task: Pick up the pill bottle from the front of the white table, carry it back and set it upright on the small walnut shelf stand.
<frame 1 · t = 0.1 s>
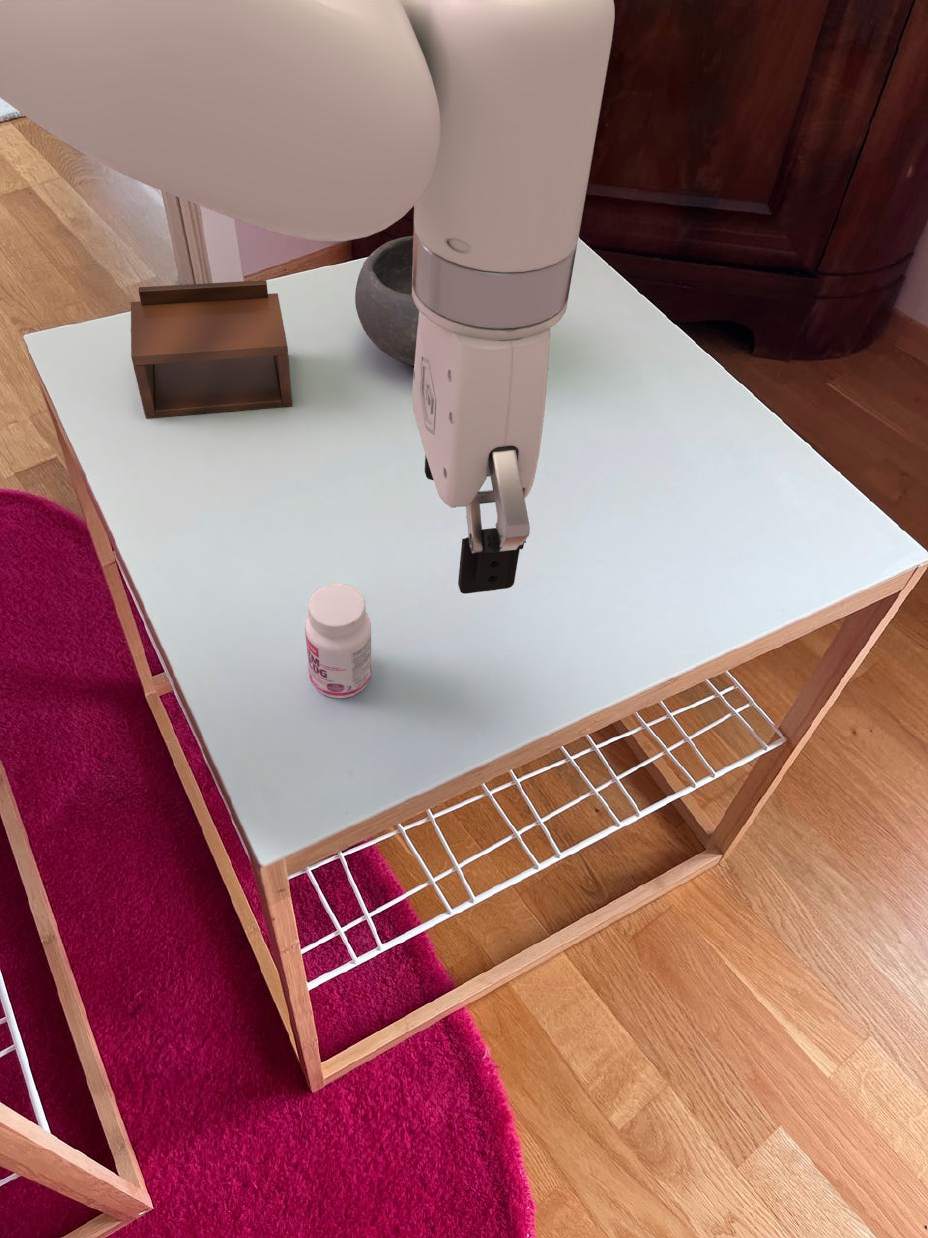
hand: (466, 528, 58), 19 cm above the table, tool pointing down, fingers open, 9 cm apart
pill bottle: (340, 676, 73), on the table
bowl: (426, 352, 101), on the table
shelf: (217, 384, 95), on the table
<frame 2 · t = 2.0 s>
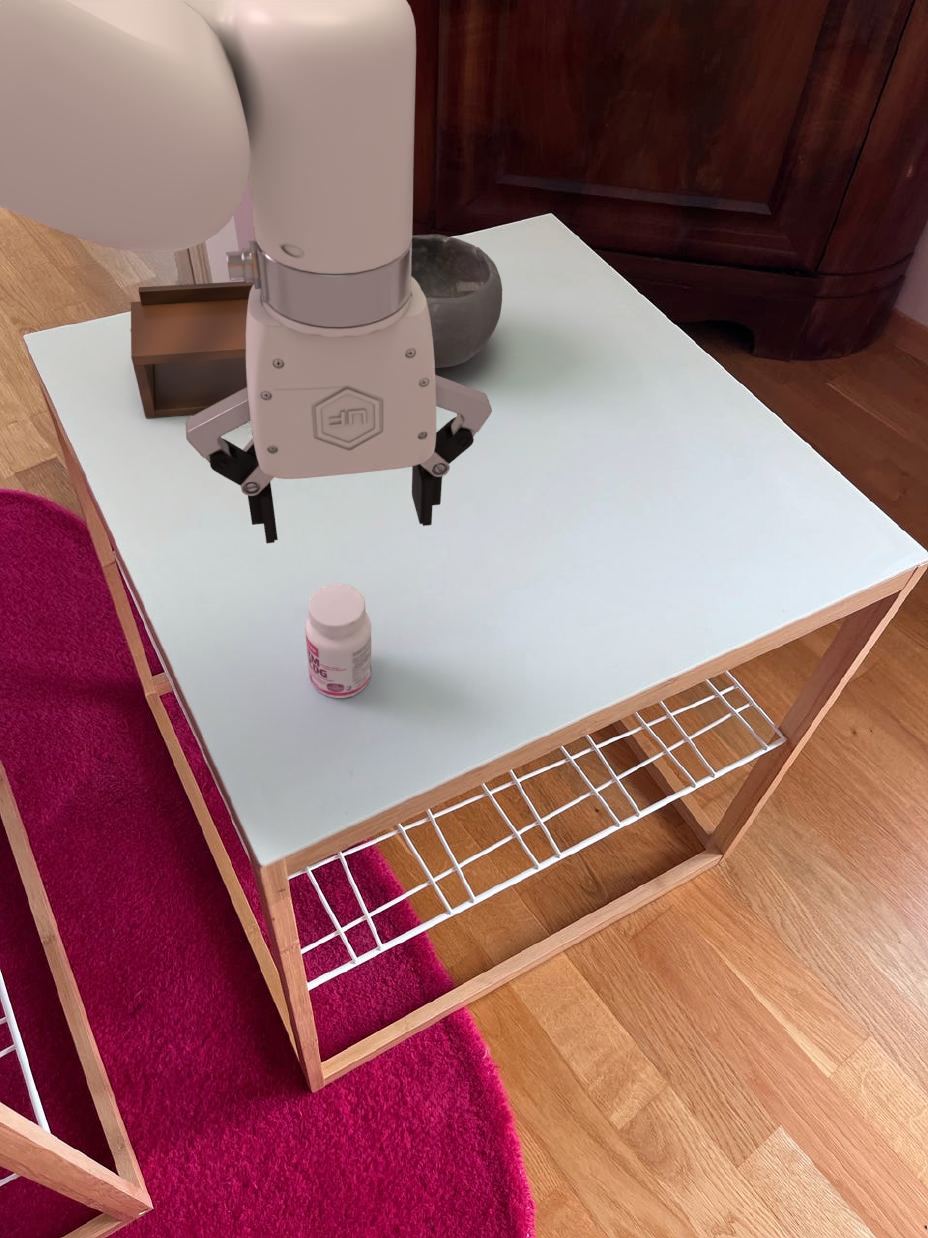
hand: (346, 518, 60), 17 cm above the table, tool pointing down, fingers open, 9 cm apart
nothing on the table moved.
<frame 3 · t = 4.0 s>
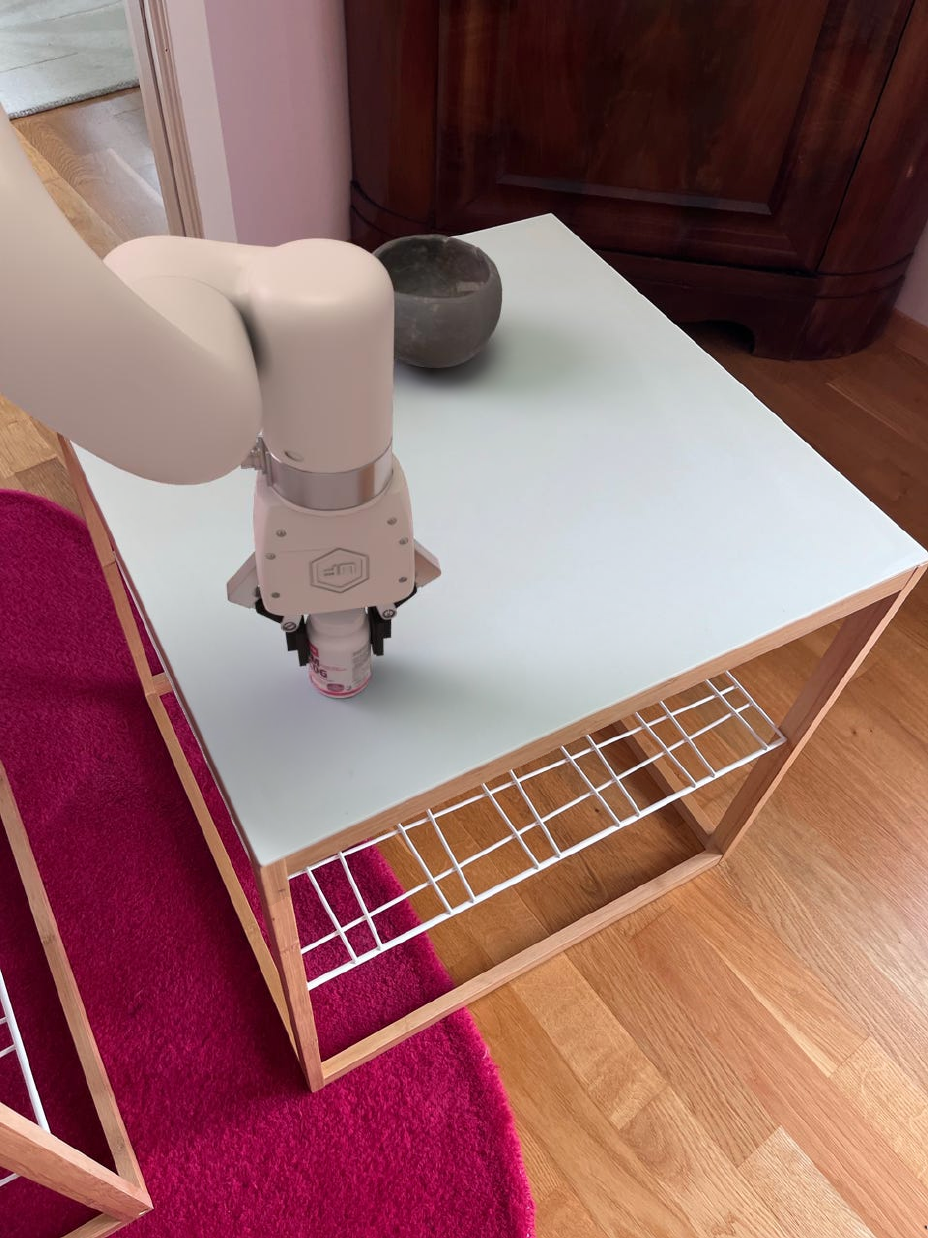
hand: (339, 644, 70), 4 cm above the table, tool pointing down, fingers closed on pill bottle, 4 cm apart
pill bottle: (340, 676, 73), on the table, touching gripper
everything else where it was.
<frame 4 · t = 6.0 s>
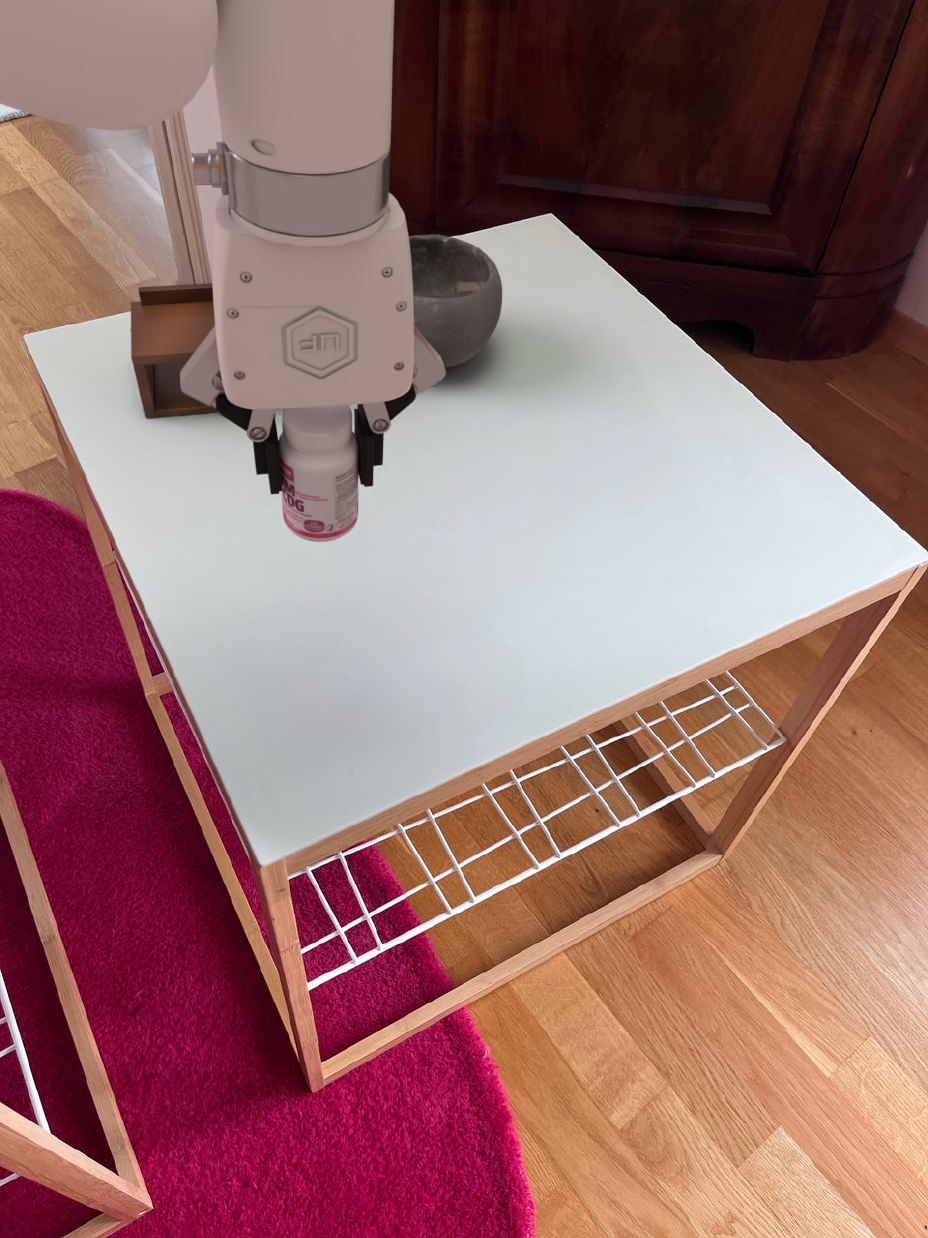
hand: (319, 472, 58), 20 cm above the table, tool pointing down, fingers closed on pill bottle, 4 cm apart
pill bottle: (320, 520, 61), point 16 cm above the table, touching gripper
everything else where it was.
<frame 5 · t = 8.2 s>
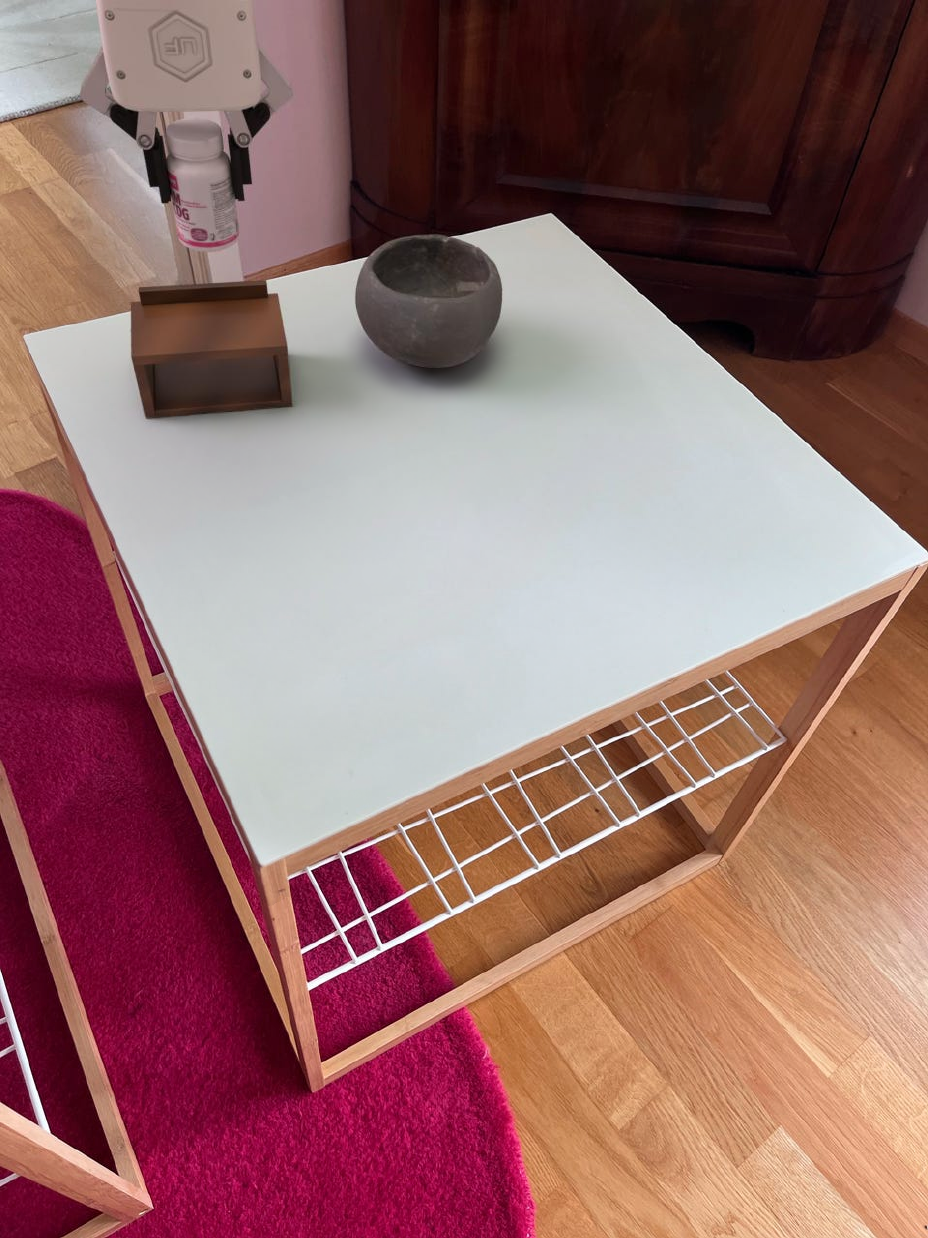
hand: (202, 191, 73), 23 cm above the table, tool pointing down, fingers closed on pill bottle, 4 cm apart
pill bottle: (209, 240, 76), point 19 cm above the table, touching gripper
everything else where it was.
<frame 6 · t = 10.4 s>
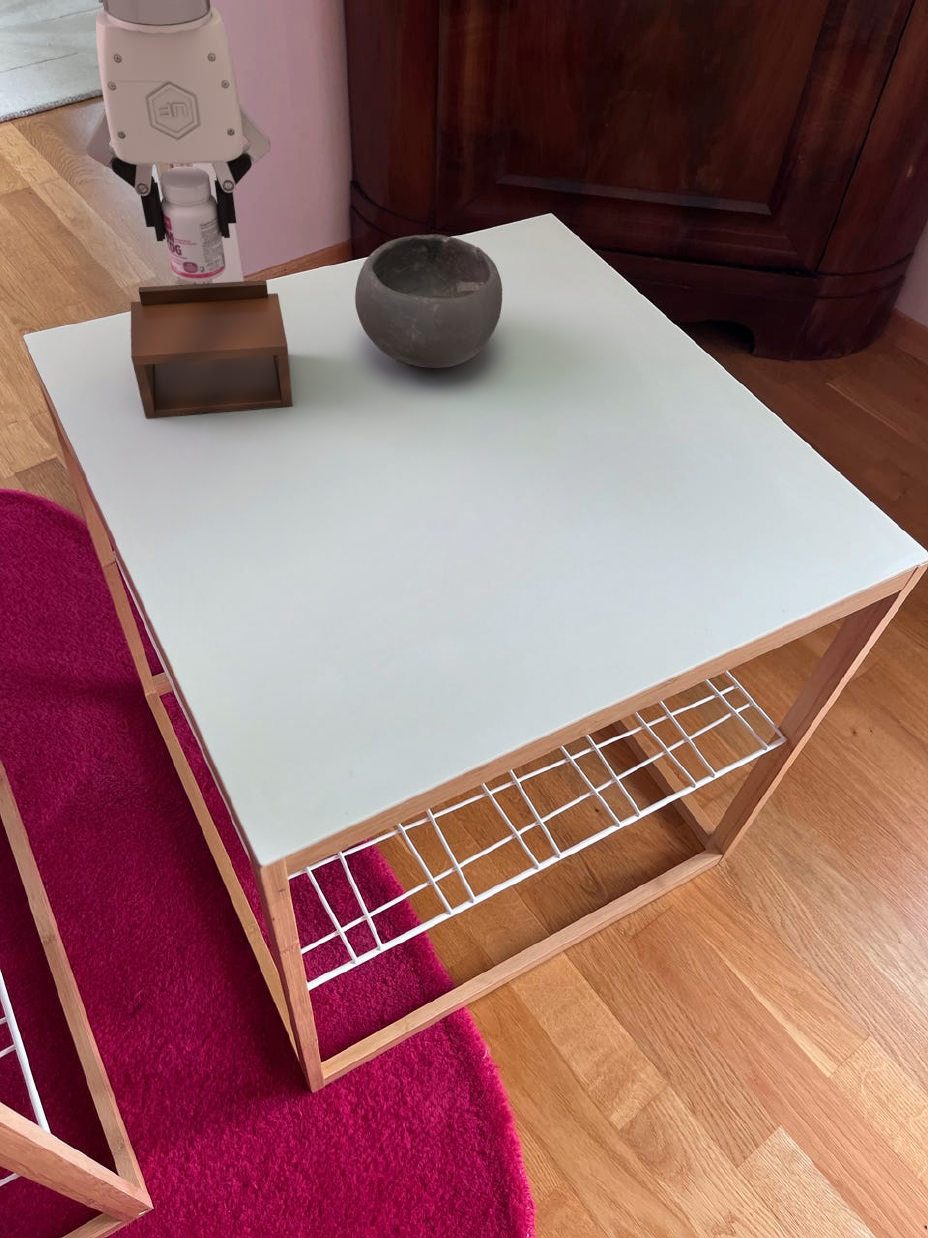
hand: (193, 229, 83), 16 cm above the table, tool pointing down, fingers closed on pill bottle, 4 cm apart
pill bottle: (199, 271, 86), point 12 cm above the table, touching gripper
everything else where it was.
when the fingers open (11 cm above the table, at t = 12.2 s): pill bottle stays where it is, resting on shelf.
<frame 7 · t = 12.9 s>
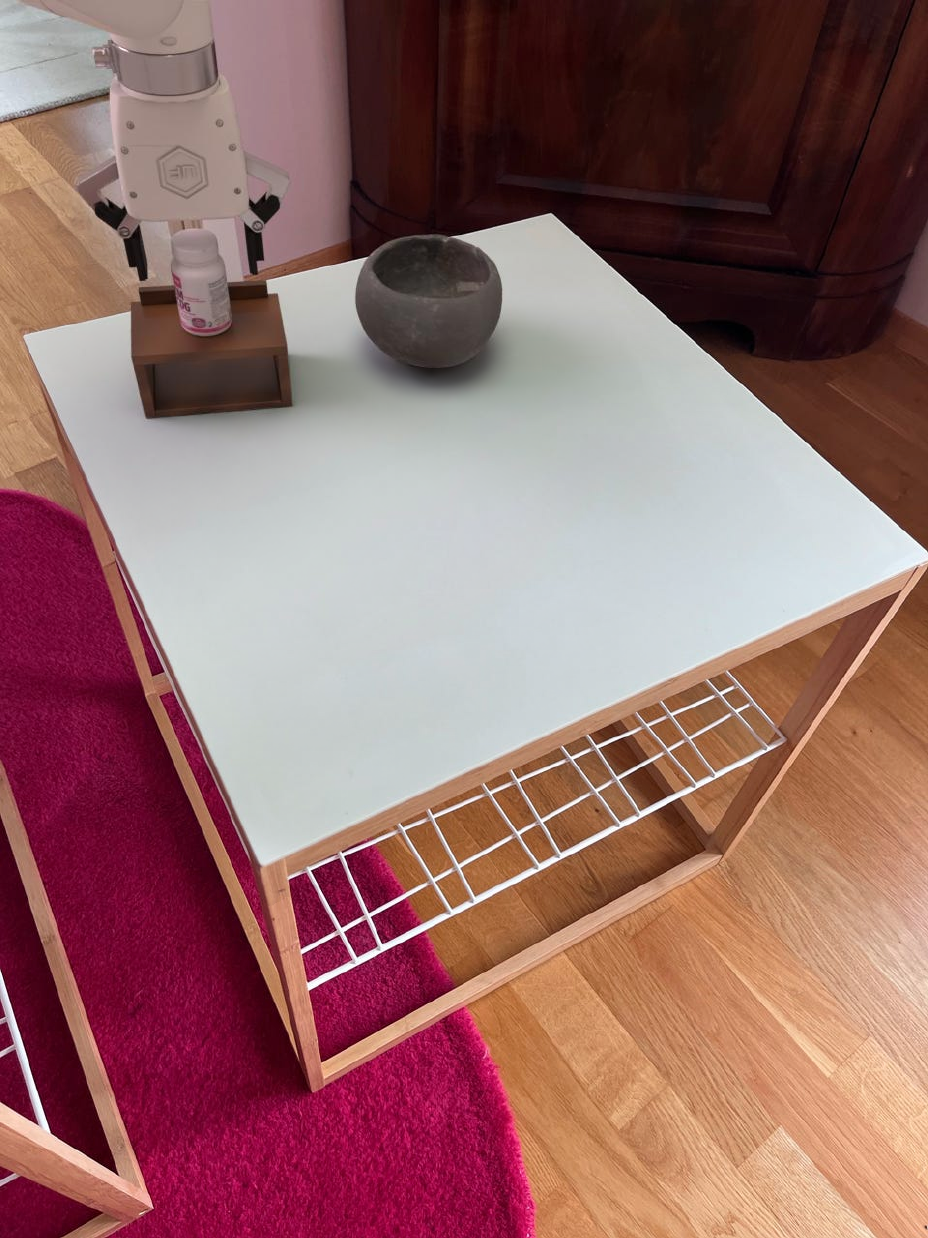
hand: (198, 269, 85), 12 cm above the table, tool pointing down, fingers open, 9 cm apart
pill bottle: (207, 325, 90), point 7 cm above the table, touching shelf
everything else where it was.
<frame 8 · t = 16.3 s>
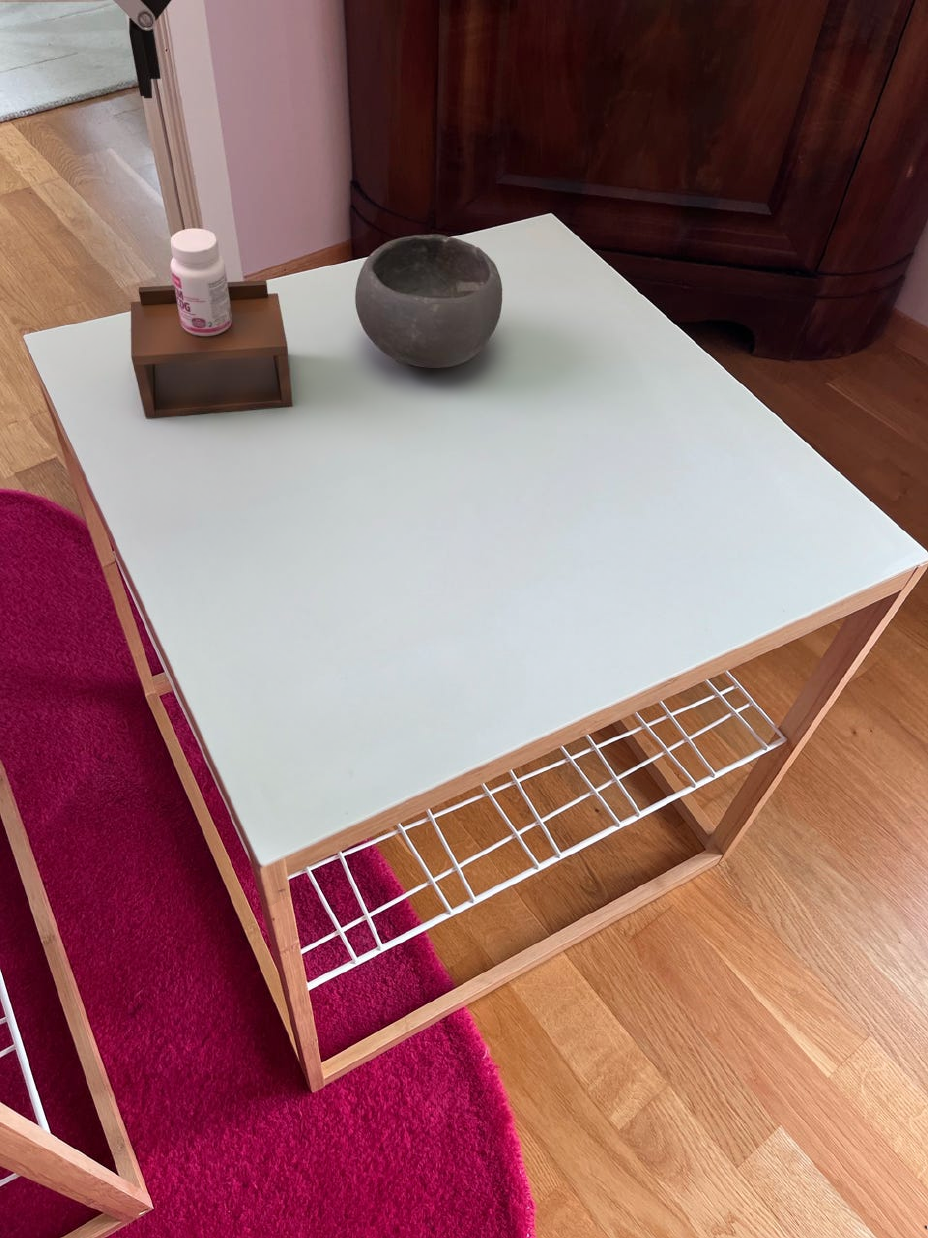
hand: (70, 91, 62), 32 cm above the table, tool pointing down, fingers open, 9 cm apart
nothing on the table moved.
at the end: pill bottle inside the target area on the shelf (0.2 cm from its centre), point 6.8 cm above the shelf's base; pill bottle tilted 0° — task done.
